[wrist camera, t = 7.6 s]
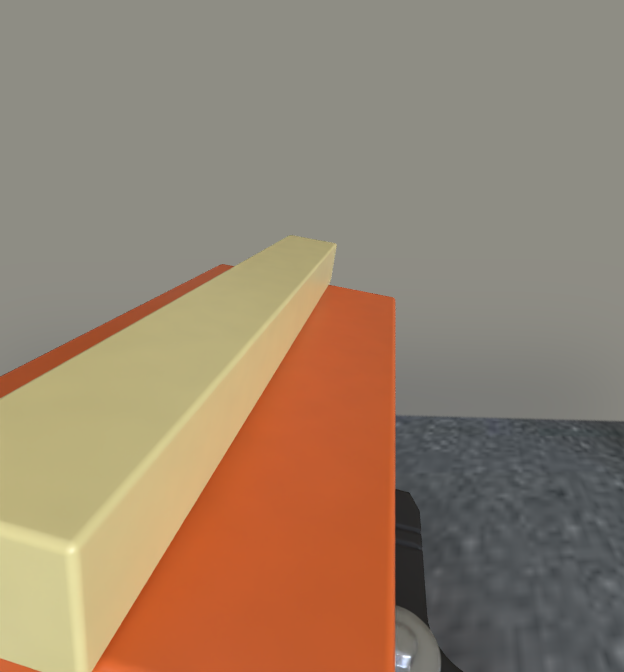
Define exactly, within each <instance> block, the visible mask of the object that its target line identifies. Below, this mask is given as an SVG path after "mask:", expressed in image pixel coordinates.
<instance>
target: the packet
mask: <svg viewBox="0 0 624 672" xmlns="http://www.w3.org/2000/svg"><path fill="white" fill-rule="evenodd" d="M336 247H337V245H336V244H335V243H331V242H326V241H320V240H315V239H309V238H304V237H298V236H293V235H290V236H287V237H286V238H284V239H282V240H280V241H279V242H277V243H275V244H273V245H271V246H270V247H268V248H266V249H264V250H263V251H261V252H259V253H257V254H255V255H254V256H252V257H250V258H248V259H247V260H245V261H243V262H241V263H239V264H238V265H236V266H230V265H225V264H222V265H219V266H217V267H215V268H213V269H211V270H209V271H207V272H205V273H203V274H201V275H199V276H197V277H195V278H193V279H191V280H189V281H187V282H185V283H183V284H181V285H179V286H177V287H175V288H174V289H172V290H170V291H168V292H166V293H164V294H162V295H160V296H158V297H156V298H154V299H152V300H150V301H148V302H146V303H144V304H142V305H140V306H138V307H136V308H134V309H132V310H130V311H128V312H126V313H124V314H123V315H120V316H118V317H116V318H115V319H113V320H111V321H109V322H107V323H105V324H103V325H101V326H99V327H97V328H95V329H93V330H91V331H89V332H87V333H85V334H83V335H81V336H79V337H77V338H75V339H73V340H71V341H69V342H67V343H65V344H63V345H62V346H59V347H58V348H55V349H54V350H52V351H50V352H48V353H46V354H44V355H42V356H40V357H38V358H36V359H34V360H32V361H30V362H28V363H26V364H24V365H22V366H20V367H18V368H16V369H14V370H12V371H10V372H8V373H6V374H4V375H2V376H0V672H395V299H394V298H393V297H388V296H383V295H378V294H373V293H367V292H363V291H357V290H352V289H347V288H342V287H337V286H332V285H329V283H330V281H331V276H332V270H333V264H334V258H335V253H336Z"/></svg>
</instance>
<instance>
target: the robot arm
mask: <svg viewBox="0 0 624 672" xmlns="http://www.w3.org/2000/svg"><path fill="white" fill-rule="evenodd" d="M420 533H421V524H420V511H419V509H418V507H417V505H416V504H415V502H414V500H413V498H412V496H411V495H410V493H409V492H405V491H401V490H397V489H395V672H463V671H461V670H460V669H459V668H458V667H456V666H455V665H454V664H453V663H452V662H451V661H450V660H449V659H448V658H447V657H446V656H445V654H444V653H443V652H442V650H441V649H440V648H439V646H438V644H437V642H436V639H435V638H434V636H433V634H432V632H431V630H430V627H429V624H428V618H427V608H426V594H425V580H424V566H423V552H422V538H421V534H420Z"/></svg>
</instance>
